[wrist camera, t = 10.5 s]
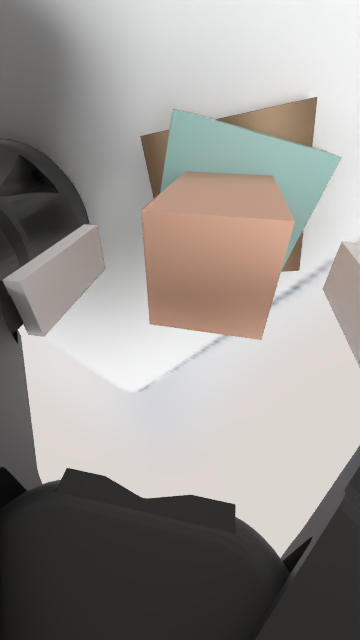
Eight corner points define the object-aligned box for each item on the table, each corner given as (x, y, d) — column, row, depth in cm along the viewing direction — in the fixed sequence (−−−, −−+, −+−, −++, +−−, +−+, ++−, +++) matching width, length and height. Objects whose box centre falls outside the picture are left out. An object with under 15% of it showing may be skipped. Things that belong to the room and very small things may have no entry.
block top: (160, 246, 26) (149, 263, 23) (184, 110, 19) (172, 109, 16) (264, 276, 26) (266, 297, 23) (326, 151, 19) (341, 157, 16)
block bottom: (178, 263, 32) (171, 278, 28) (153, 134, 24) (140, 136, 21) (293, 253, 28) (299, 270, 25) (306, 100, 21) (317, 97, 18)
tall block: (183, 251, 22) (149, 323, 14) (185, 171, 18) (141, 209, 11) (255, 258, 21) (261, 339, 13) (273, 175, 17) (294, 221, 10)
